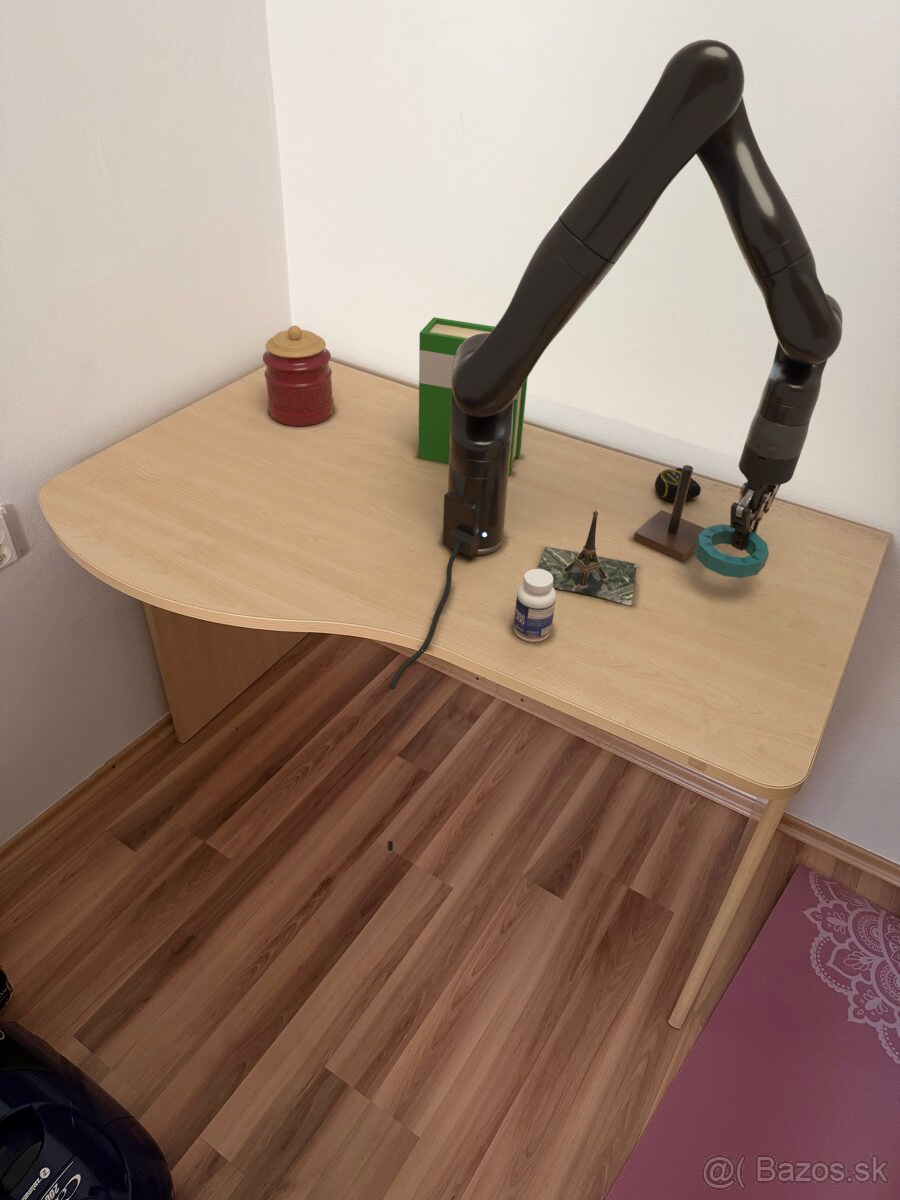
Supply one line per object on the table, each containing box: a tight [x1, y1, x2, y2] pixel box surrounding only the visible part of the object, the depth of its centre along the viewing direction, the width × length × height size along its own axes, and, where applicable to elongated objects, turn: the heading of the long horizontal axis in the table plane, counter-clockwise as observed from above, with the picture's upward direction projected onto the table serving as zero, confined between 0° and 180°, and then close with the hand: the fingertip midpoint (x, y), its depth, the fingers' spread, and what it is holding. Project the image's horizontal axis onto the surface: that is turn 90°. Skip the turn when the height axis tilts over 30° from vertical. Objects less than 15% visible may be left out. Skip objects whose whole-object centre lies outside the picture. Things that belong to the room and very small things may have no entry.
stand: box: [632, 464, 706, 562], centre depth 134 cm, size 9×9×14 cm
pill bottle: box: [513, 568, 557, 643], centre depth 117 cm, size 5×5×10 cm
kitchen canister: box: [262, 325, 335, 427], centre depth 163 cm, size 13×13×18 cm
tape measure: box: [654, 467, 702, 502], centre depth 147 cm, size 7×7×4 cm
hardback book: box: [417, 316, 529, 477], centre depth 149 cm, size 18×7×24 cm, turn 72°
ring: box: [694, 523, 770, 579], centre depth 125 cm, size 10×10×2 cm
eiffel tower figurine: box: [537, 506, 638, 607], centre depth 126 cm, size 15×10×13 cm
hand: (741, 543), depth 128 cm, fingers closed on ring, 2 cm apart
